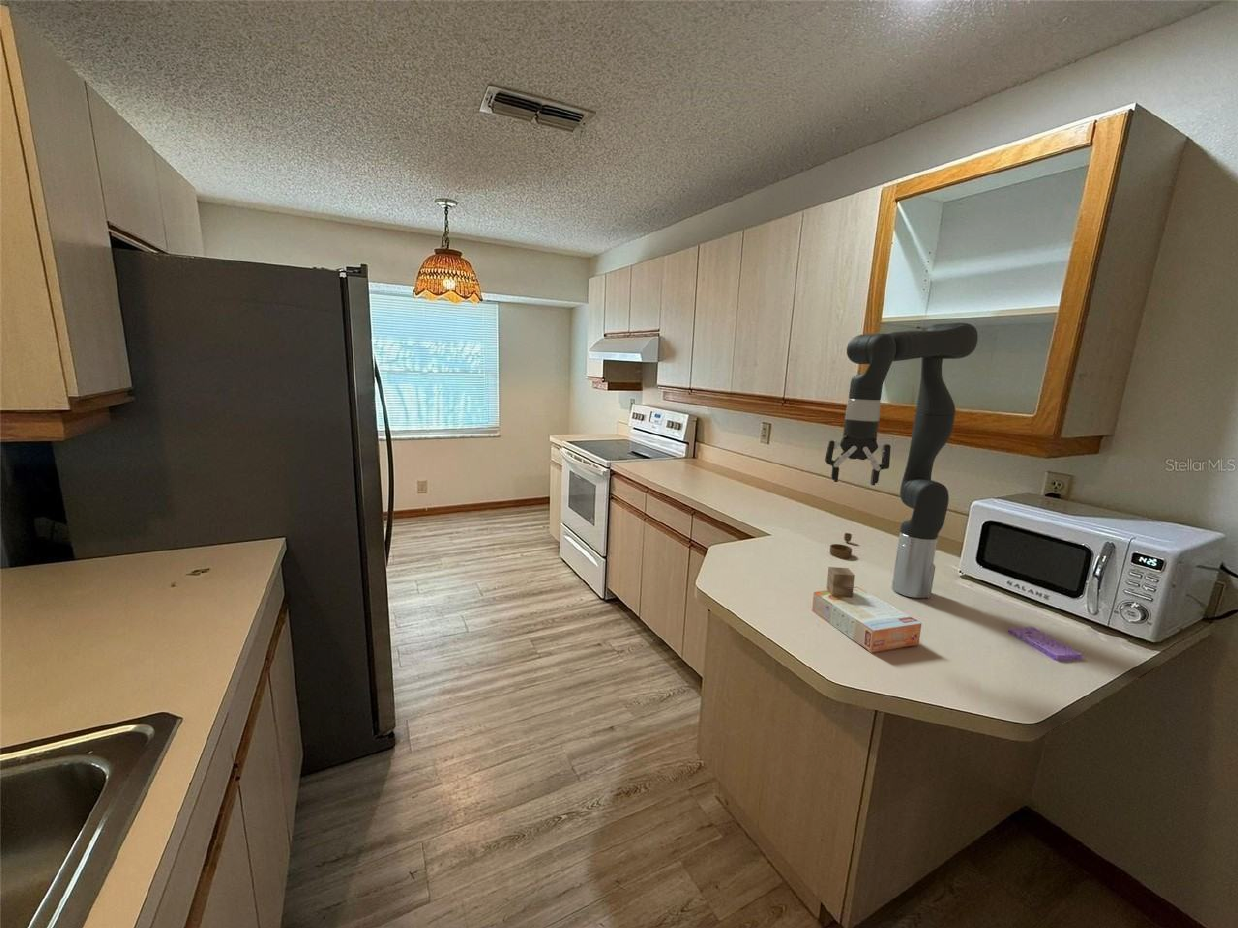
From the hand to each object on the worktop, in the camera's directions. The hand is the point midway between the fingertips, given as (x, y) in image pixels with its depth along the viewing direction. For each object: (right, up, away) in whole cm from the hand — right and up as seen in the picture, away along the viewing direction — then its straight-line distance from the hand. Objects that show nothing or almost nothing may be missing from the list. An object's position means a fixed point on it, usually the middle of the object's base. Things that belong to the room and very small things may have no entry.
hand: (853, 483), depth 125 cm
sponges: (+43, -39, -5) cm, 59 cm away
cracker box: (-1, -31, +9) cm, 32 cm away
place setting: (+21, -28, +49) cm, 60 cm away
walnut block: (-1, -29, +5) cm, 29 cm away
